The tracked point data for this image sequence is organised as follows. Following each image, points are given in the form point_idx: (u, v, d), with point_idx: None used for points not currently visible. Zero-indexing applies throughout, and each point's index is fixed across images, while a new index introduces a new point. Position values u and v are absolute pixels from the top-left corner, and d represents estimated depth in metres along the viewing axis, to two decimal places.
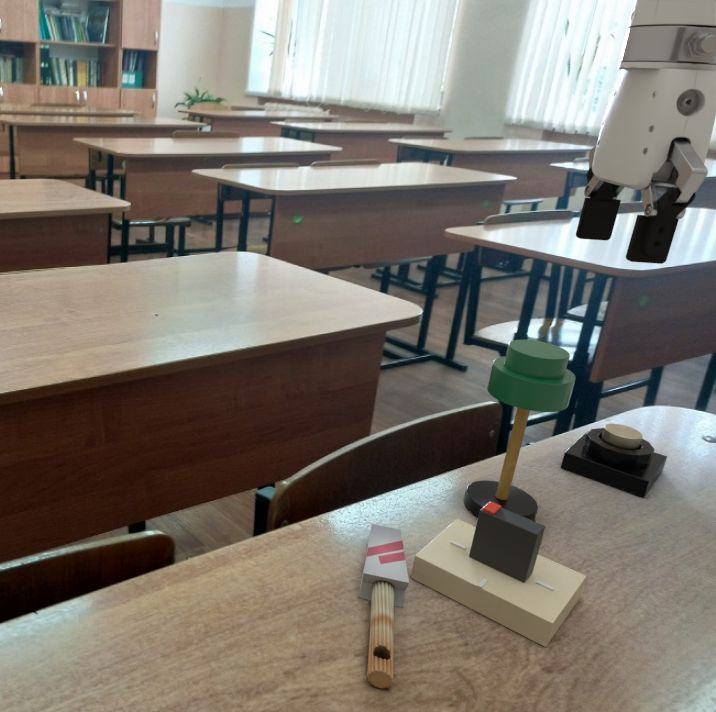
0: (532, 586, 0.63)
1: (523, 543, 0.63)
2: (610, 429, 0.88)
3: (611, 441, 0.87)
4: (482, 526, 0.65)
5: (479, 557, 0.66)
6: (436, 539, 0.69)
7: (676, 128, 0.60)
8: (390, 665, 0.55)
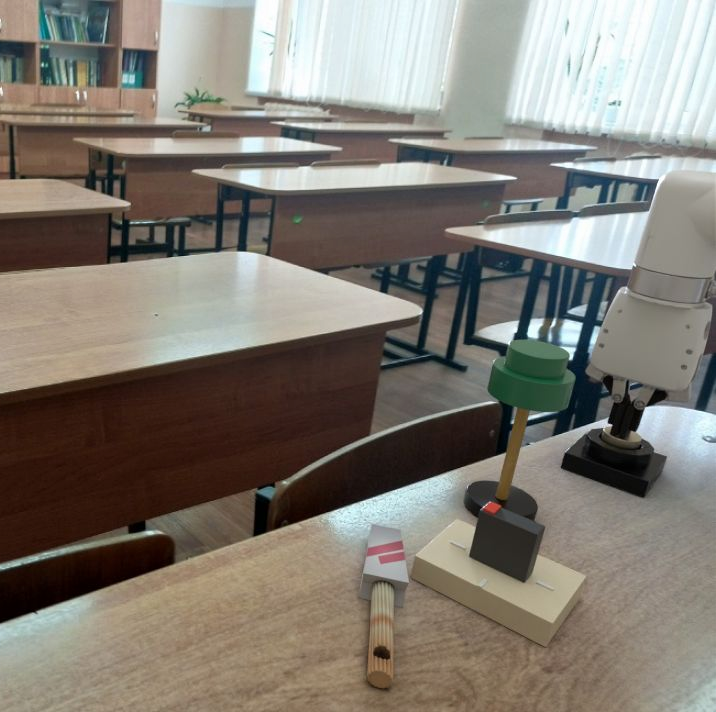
0: (532, 586, 0.63)
1: (523, 543, 0.63)
2: None
3: (610, 444, 0.87)
4: (482, 526, 0.65)
5: (479, 557, 0.66)
6: (436, 539, 0.69)
7: (701, 349, 0.80)
8: (390, 665, 0.55)
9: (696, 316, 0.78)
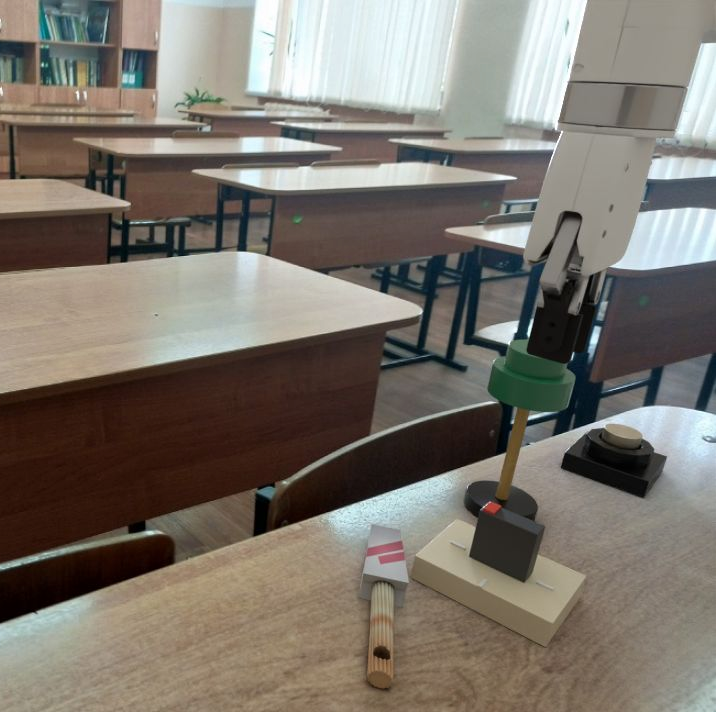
0: (532, 586, 0.63)
1: (523, 543, 0.63)
2: (610, 429, 0.88)
3: (611, 441, 0.87)
4: (482, 526, 0.65)
5: (479, 557, 0.66)
6: (436, 539, 0.69)
7: None
8: (390, 665, 0.55)
9: None
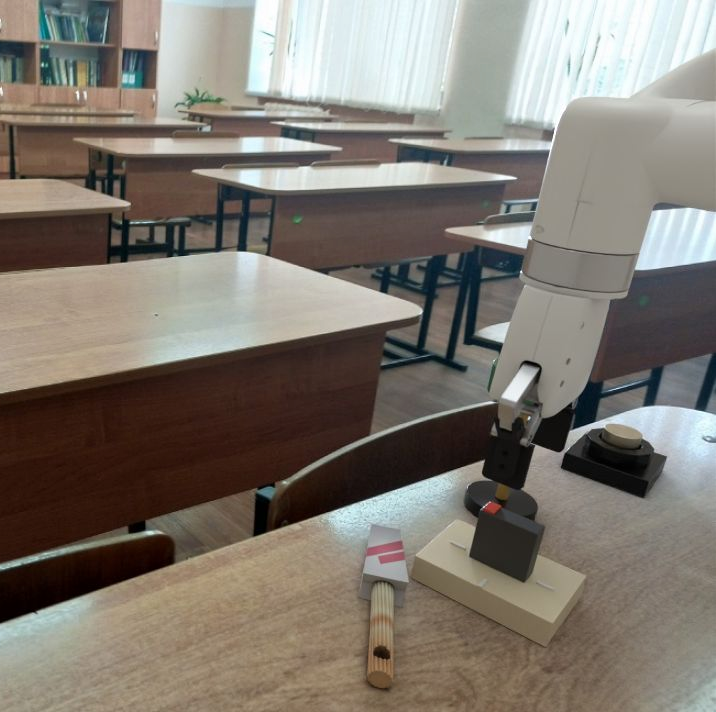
0: (532, 586, 0.63)
1: (523, 543, 0.63)
2: (610, 429, 0.88)
3: (611, 441, 0.87)
4: (482, 526, 0.65)
5: (479, 557, 0.66)
6: (436, 539, 0.69)
7: None
8: (390, 665, 0.55)
9: None
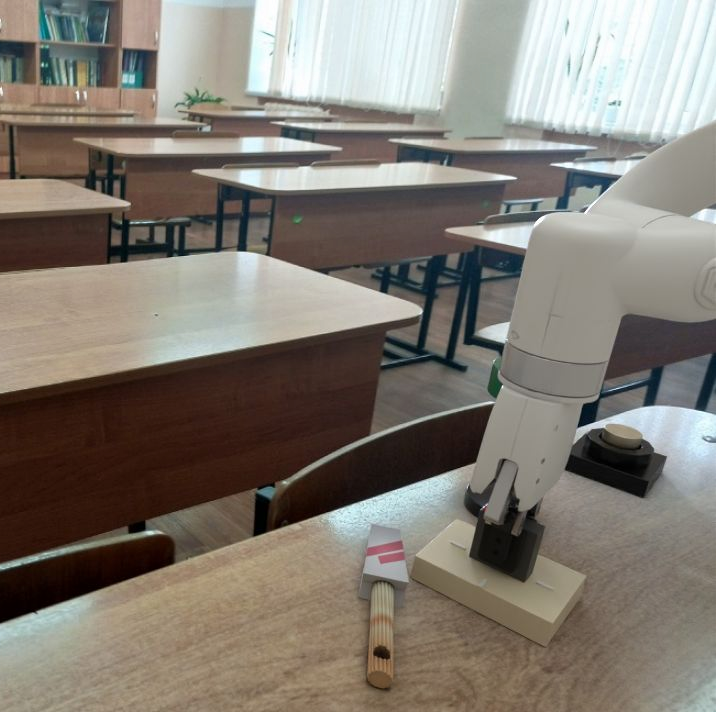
0: (532, 586, 0.63)
1: (523, 543, 0.63)
2: (610, 429, 0.88)
3: (611, 441, 0.87)
4: (482, 526, 0.65)
5: None
6: (436, 539, 0.69)
7: None
8: (390, 665, 0.55)
9: None
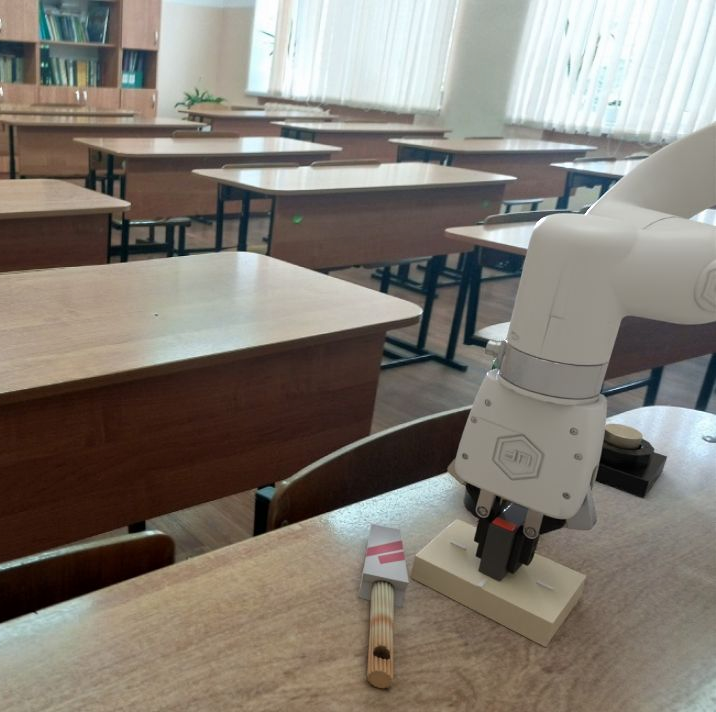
0: (532, 586, 0.63)
1: None
2: (610, 429, 0.88)
3: (611, 441, 0.87)
4: (511, 545, 0.63)
5: (505, 573, 0.64)
6: (436, 539, 0.69)
7: None
8: (390, 665, 0.55)
9: None
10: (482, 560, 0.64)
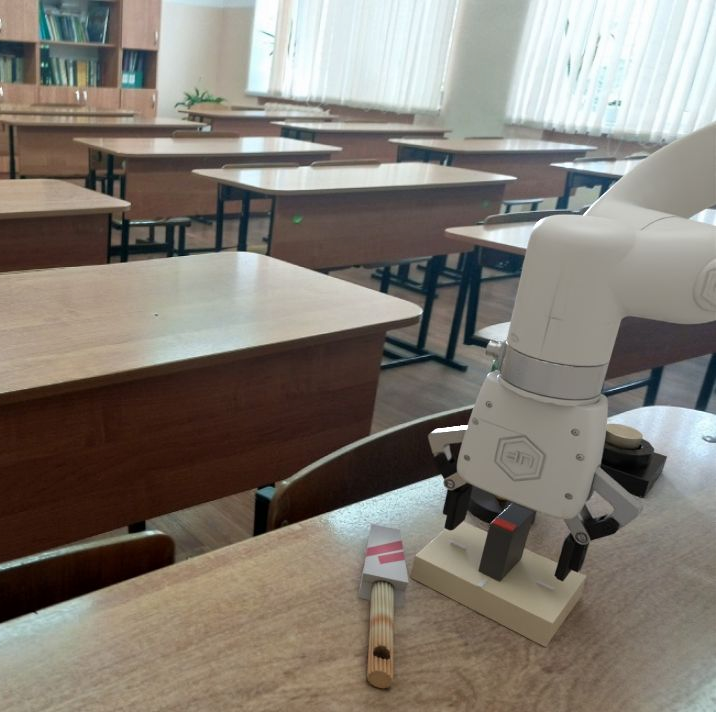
0: (532, 586, 0.63)
1: (527, 528, 0.65)
2: (610, 429, 0.88)
3: (611, 441, 0.87)
4: (511, 545, 0.63)
5: (505, 573, 0.64)
6: (436, 539, 0.69)
7: None
8: (390, 665, 0.55)
9: None
10: (482, 560, 0.64)
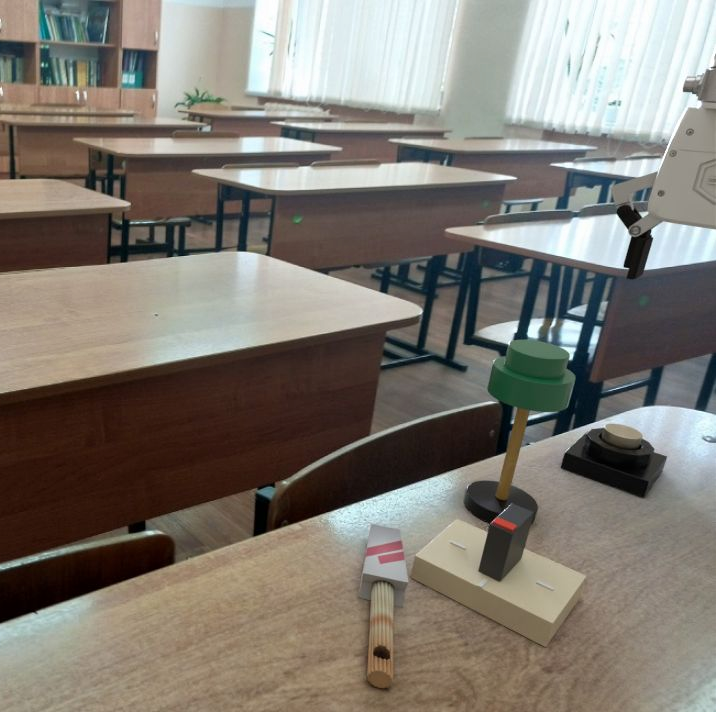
0: (532, 586, 0.63)
1: (527, 528, 0.65)
2: (610, 429, 0.88)
3: (611, 441, 0.87)
4: (511, 545, 0.63)
5: (505, 573, 0.64)
6: (436, 539, 0.69)
7: None
8: (390, 665, 0.55)
9: None
10: (482, 560, 0.64)
